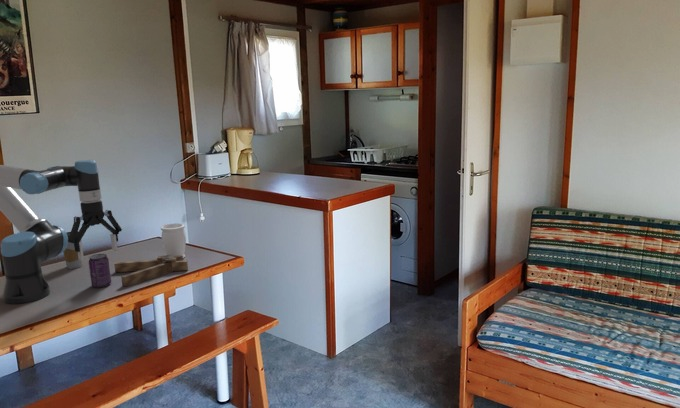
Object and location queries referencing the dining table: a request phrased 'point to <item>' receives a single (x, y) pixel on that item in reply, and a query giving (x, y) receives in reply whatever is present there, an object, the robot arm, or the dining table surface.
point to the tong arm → (150, 264)
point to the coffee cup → (72, 255)
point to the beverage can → (99, 270)
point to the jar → (174, 239)
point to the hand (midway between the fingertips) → (98, 254)
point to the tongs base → (148, 272)
